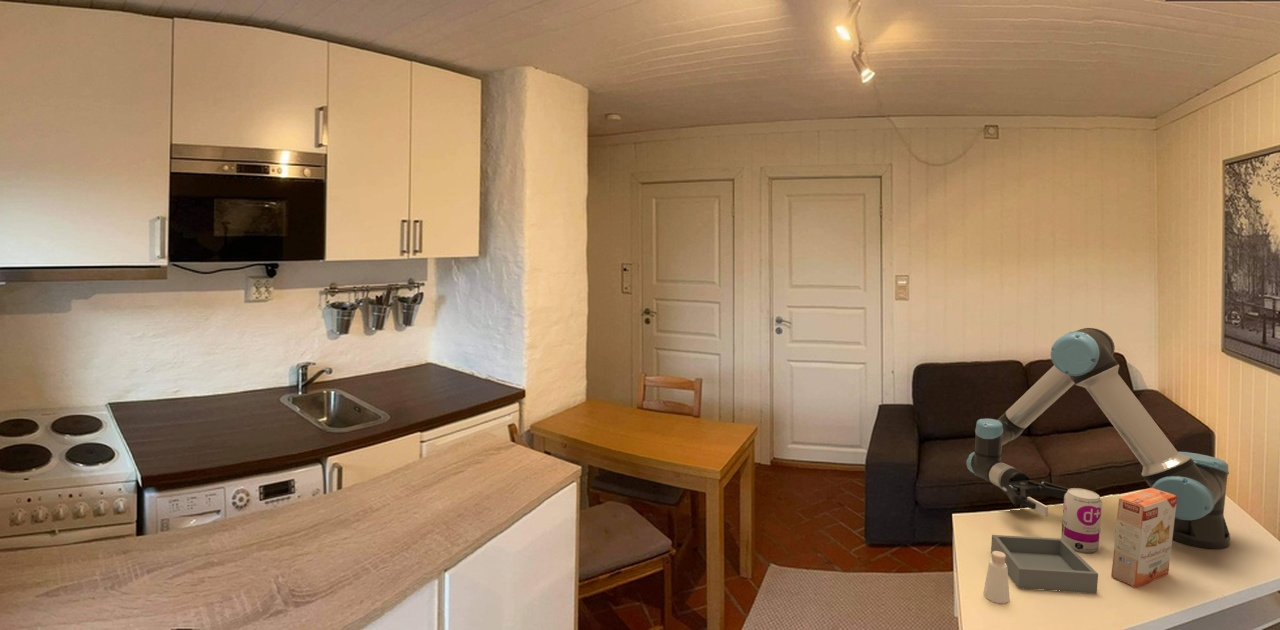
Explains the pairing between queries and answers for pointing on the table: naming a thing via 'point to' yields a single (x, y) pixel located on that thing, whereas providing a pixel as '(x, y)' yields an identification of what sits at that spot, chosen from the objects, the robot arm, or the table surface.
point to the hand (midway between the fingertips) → (1068, 509)
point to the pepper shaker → (997, 579)
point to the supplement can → (1081, 519)
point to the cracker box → (1143, 536)
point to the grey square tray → (1045, 564)
